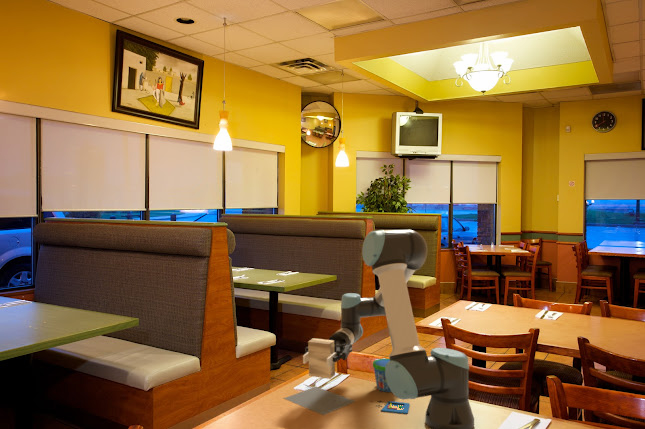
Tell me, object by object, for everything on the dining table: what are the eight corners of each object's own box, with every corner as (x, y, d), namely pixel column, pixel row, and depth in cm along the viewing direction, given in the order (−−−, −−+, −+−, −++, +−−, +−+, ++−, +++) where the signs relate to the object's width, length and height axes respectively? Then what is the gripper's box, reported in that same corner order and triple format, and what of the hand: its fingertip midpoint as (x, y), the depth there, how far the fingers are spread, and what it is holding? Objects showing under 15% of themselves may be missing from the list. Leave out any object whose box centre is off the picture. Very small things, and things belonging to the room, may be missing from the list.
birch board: (314, 371, 178) (313, 338, 177) (335, 374, 174) (334, 340, 174) (309, 375, 174) (308, 341, 173) (330, 378, 171) (329, 344, 170)
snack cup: (370, 381, 198) (370, 356, 198) (397, 381, 198) (397, 355, 198) (375, 397, 182) (375, 369, 182) (404, 397, 183) (404, 369, 182)
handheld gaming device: (367, 398, 180) (409, 402, 176) (367, 401, 180) (409, 405, 176) (363, 407, 172) (407, 412, 168) (363, 410, 172) (407, 415, 168)
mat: (355, 402, 178) (355, 401, 178) (323, 416, 166) (323, 415, 166) (315, 388, 192) (315, 386, 192) (283, 400, 180) (283, 398, 180)
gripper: (367, 353, 186) (345, 376, 165) (316, 347, 194) (288, 368, 174) (367, 333, 186) (344, 353, 165) (315, 328, 194) (287, 346, 173)
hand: (315, 361), depth 169 cm, fingers closed on birch board, 8 cm apart
